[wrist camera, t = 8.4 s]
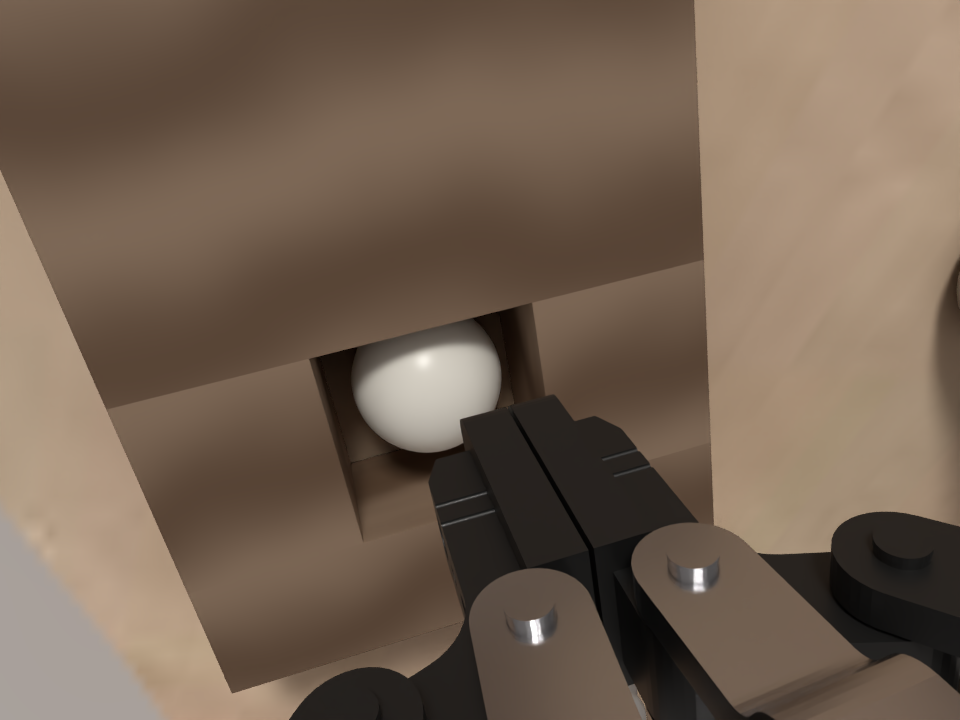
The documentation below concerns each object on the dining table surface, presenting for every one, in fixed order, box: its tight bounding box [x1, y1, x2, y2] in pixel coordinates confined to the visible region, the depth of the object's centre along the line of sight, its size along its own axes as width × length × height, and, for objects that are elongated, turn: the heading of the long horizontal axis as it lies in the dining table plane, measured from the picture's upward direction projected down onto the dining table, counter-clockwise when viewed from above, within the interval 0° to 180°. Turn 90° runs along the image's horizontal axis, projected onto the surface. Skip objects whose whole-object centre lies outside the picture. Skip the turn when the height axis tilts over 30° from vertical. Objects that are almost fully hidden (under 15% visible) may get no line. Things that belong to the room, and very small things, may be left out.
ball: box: [351, 318, 501, 453], centre depth 23 cm, size 4×4×4 cm
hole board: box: [0, 0, 714, 693], centre depth 20 cm, size 26×16×4 cm, turn 10°
